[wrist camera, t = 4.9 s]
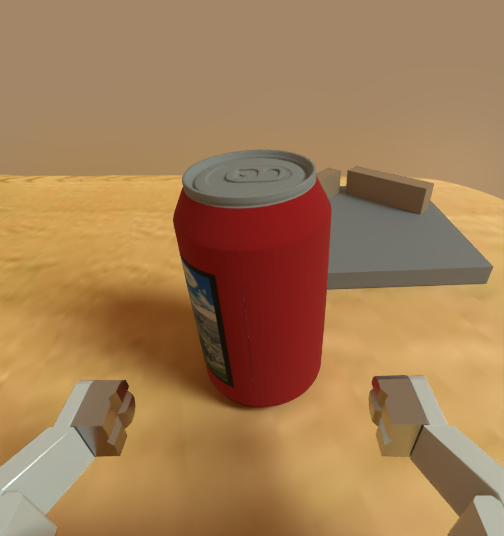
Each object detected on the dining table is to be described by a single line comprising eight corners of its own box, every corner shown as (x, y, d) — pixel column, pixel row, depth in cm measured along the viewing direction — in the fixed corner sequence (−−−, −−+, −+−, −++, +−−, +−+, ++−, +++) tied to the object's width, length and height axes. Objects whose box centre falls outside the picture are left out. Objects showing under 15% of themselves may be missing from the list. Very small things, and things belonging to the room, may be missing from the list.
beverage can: (221, 322, 24) (190, 147, 17) (319, 326, 23) (330, 142, 16) (195, 411, 18) (135, 207, 11) (322, 422, 17) (342, 205, 10)
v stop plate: (486, 283, 25) (505, 236, 23) (269, 291, 26) (266, 247, 24) (410, 195, 38) (417, 159, 36) (267, 202, 39) (265, 168, 37)
